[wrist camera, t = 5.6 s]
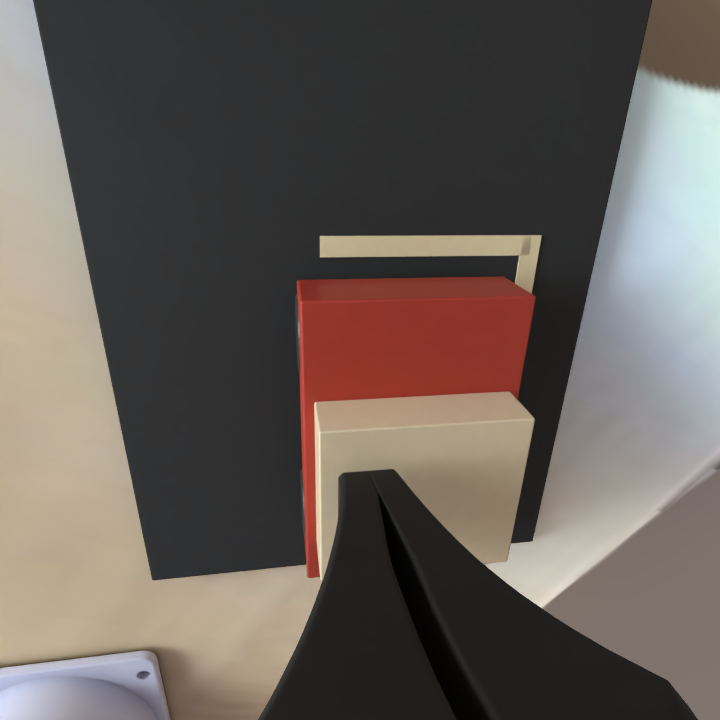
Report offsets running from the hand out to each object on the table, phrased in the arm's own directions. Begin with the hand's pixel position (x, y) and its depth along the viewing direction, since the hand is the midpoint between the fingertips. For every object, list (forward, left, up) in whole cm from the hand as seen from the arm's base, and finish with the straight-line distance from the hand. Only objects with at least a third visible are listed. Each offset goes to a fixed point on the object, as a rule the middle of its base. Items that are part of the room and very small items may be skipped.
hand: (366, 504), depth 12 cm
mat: (+3, 0, -5) cm, 6 cm away
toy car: (0, +1, -3) cm, 3 cm away
